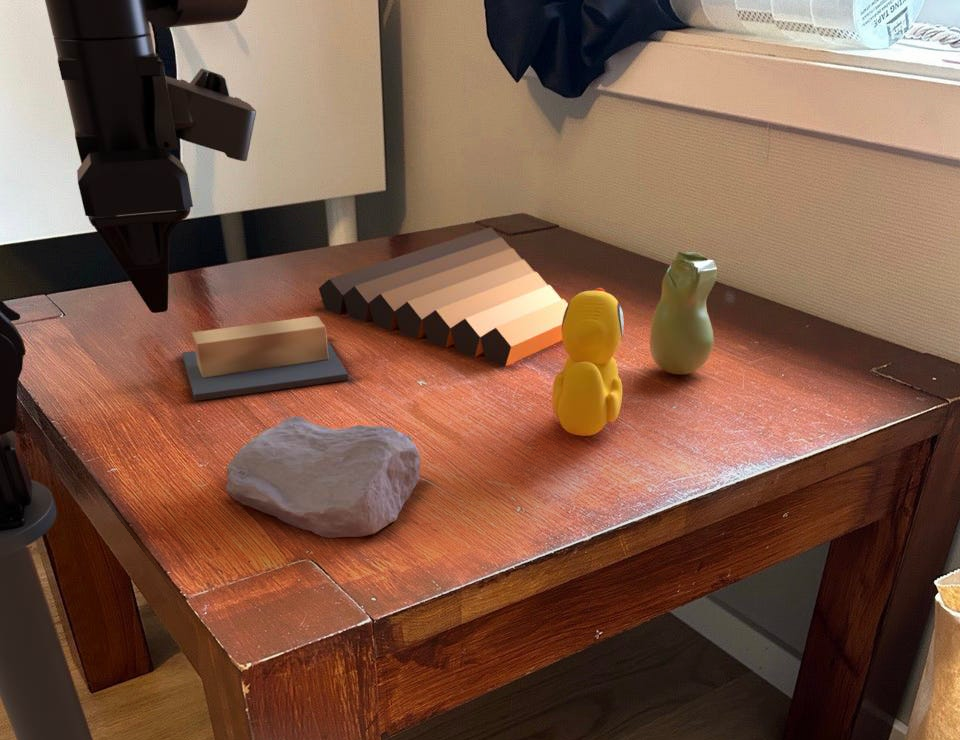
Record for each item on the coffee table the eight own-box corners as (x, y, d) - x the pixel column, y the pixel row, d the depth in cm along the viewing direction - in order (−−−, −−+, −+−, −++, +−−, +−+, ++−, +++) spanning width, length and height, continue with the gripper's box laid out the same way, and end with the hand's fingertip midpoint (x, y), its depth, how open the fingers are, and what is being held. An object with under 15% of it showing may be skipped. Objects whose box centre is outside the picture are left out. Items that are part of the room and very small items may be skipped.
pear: (665, 355, 88) (678, 241, 82) (719, 368, 85) (736, 251, 79) (635, 375, 84) (647, 256, 78) (692, 389, 82) (707, 268, 76)
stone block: (378, 568, 63) (432, 473, 69) (363, 512, 59) (421, 416, 65) (219, 542, 66) (284, 454, 72) (197, 487, 63) (267, 399, 69)
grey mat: (194, 401, 80) (193, 394, 80) (183, 358, 88) (182, 352, 87) (348, 380, 83) (348, 373, 83) (324, 340, 91) (324, 334, 91)
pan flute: (479, 254, 114) (320, 308, 99) (479, 224, 112) (317, 275, 97) (661, 298, 101) (510, 369, 86) (665, 265, 99) (511, 332, 84)
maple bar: (202, 378, 82) (196, 343, 81) (197, 365, 85) (191, 332, 83) (328, 359, 86) (325, 326, 84) (320, 348, 88) (317, 315, 86)
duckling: (560, 392, 81) (566, 270, 75) (625, 396, 80) (635, 274, 74) (541, 452, 72) (545, 319, 66) (613, 458, 71) (624, 324, 65)
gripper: (258, 45, 54) (291, 320, 64) (217, 17, 69) (249, 245, 78) (47, 55, 51) (114, 341, 61) (50, 23, 66) (104, 259, 75)
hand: (154, 291), depth 69 cm, fingers open, 9 cm apart
